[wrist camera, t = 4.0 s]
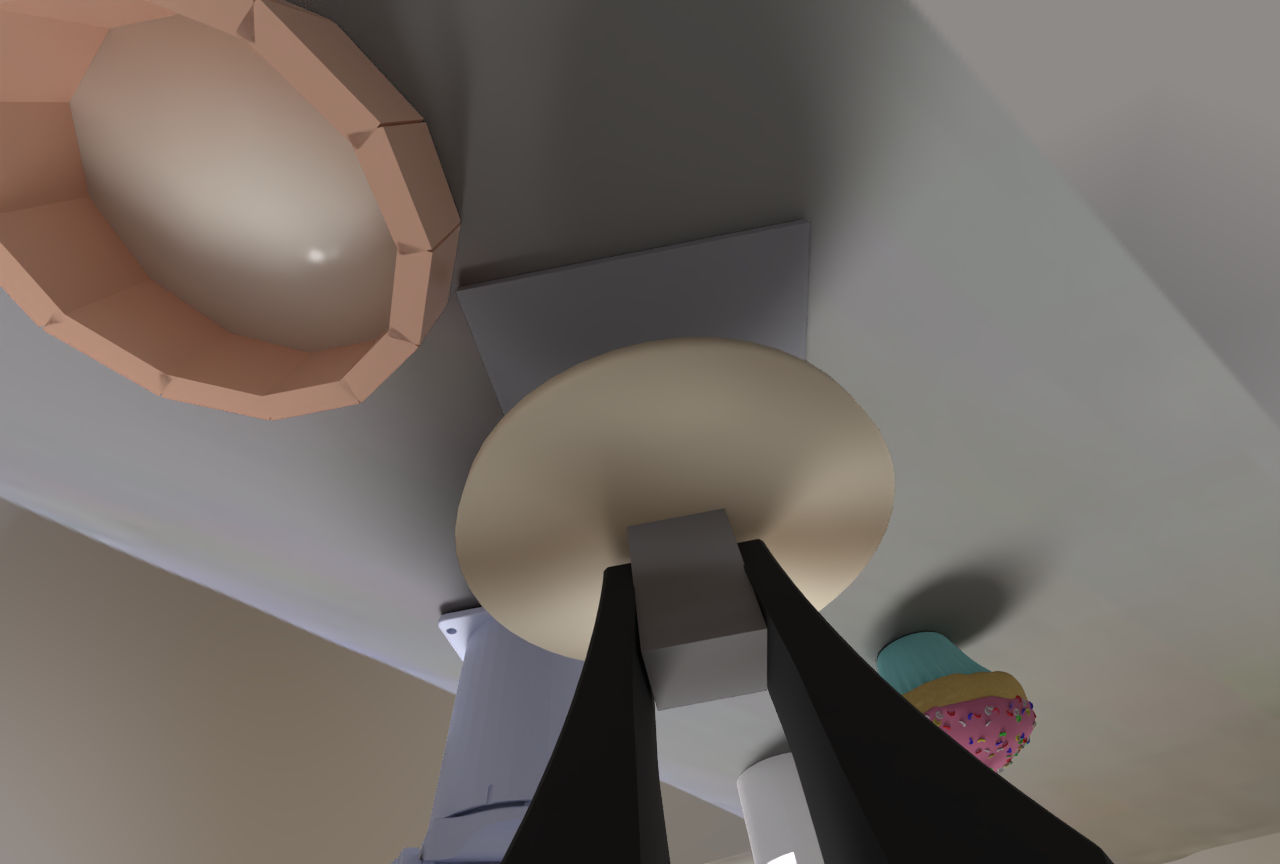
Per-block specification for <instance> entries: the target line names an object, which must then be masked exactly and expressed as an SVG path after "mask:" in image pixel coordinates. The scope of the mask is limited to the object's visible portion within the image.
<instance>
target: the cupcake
mask: <svg viewBox="0 0 1280 864" xmlns="http://www.w3.org/2000/svg"><path fill="white" fill-rule="evenodd" d="M877 667H878V671H879V675H880V676H881V677H882V678H883V679H885V680H886V681H887V682H888V683H889V684H890V685H891V686H892V687H893V688H894V689H895V690H896V691H898V692H899V693H900V694H901V695H902V696H903V697H904V698H905V699H907V700H908V701H909V702H910V703H911V704H912V705H913V706H915V707H916V708H917V709H918V710H919V711H920V712H921V713H923V714H924V715H925V716H926V717H927V718H928V719H930V720H931V721H932V722H933V723H934V724H936V725H937V726H938V727H939V728H941V729H942V730H943V731H944V732H946V733H947V734H948V735H949V736H951V737H952V738H953V739H954V740H956V741H957V742H958V743H959V744H960V745H962V746H963V747H964V748H965V749H967V750H968V751H969V752H970V753H972V754H973V755H974V756H975V757H977V758H978V759H979V760H980V761H981V762H983V763H984V764H985V765H987V766H988V767H989V768H991V769H992V770H993V771H995V772H996V773H1001V772H1003V770H1004V768H1003V767H1007V766H1008V765H1009V764H1012V763H1013V762H1012V761H1011V759H1012V758H1013V757H1014V756H1017V755H1018V753H1019V751H1020V749H1022V748H1024V746H1025V745H1027V744H1028V743H1029V742H1030V735H1031V733H1032V731H1033V728H1034V727H1035V726H1036V722H1035V718H1036V715H1035V713H1034V711H1033V709H1032V708H1033V704H1032V703H1031V702H1029V701H1028V700H1027V697H1026V695H1025V692H1024V690H1023V688H1022V686H1021V685H1020V683H1019V682H1018V681H1017V680H1016V679H1015V678H1014V677H1013V676H1012V675H1010V674H1008V673H1006V672H1001V671H994V672H991V671H989V670H988V669H986V668H984V667H982V666H981V665H979V664H977V663H976V662H974V661H973V660H972V659H970V658H969V657H968V656H967V655H965V654H964V653H963V652H962V651H961V650H960V649H958V648H957V647H956V646H955V645H954V644H953V643H952V642H951V641H949V640H948V639H947V638H946V637H945V636H943V635H942V634H939V633H935V632H920V633H914V634H910V635H907V636H904V637H902V638H900V639H898V640H896V641H894V642H892V643H891V644H889V645H888V646H887V647H885V648H884V649H883V650H882V651H881V653H880V654H879V656H878V658H877ZM1009 762H1010V763H1009Z"/></svg>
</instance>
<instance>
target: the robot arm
mask: <svg viewBox="0 0 1280 864" xmlns="http://www.w3.org/2000/svg"><path fill="white" fill-rule="evenodd" d="M737 545H738V547H739V550H740V553H741V556H742V559H743V562H744V564H745V565H744V566H743V567H744V569H745V572H746V574H747V577H748V579H749V581H750V583H751V585H752V587H753V590H754V593H755V596H756V598H757V601H758V604H759V607H760V610H761V612H762V615H763V618H764V621H765V624H766V627H767V689H768V691H769V694H770V696H771V699H772V701H773V704H774V707H775V709H776V712H777V714H778V717H779V720H780V722H781V725H782V727H783V730H784V732H785V735H786V738H787V741H788V744H789V747H790V749H791V752H792V755H793V758H794V761H795V765H796V768H797V772H798V775H799V778H800V782H801V785H802V788H803V792H804V795H805V798H806V802H807V805H808V809H809V812H810V816H811V819H812V822H813V826H814V829H815V833H816V836H817V840H818V843H819V847H820V850H821V854H822V857H823V861H824V864H1114V863H1113V862H1112V861H1111V860H1110V858H1109V857H1108V856H1107V855H1106V854H1105V853H1104V851H1103V850H1102V849H1101V848H1100V847H1099V846H1097V845H1096V844H1095V843H1093V842H1092V841H1090V840H1089V839H1088V838H1086V837H1085V836H1083V835H1082V834H1080V833H1079V832H1077V831H1076V830H1075V829H1073V828H1072V827H1070V826H1069V825H1067V824H1066V823H1065V822H1063V821H1062V820H1060V819H1059V818H1057V817H1056V816H1055V815H1053V814H1052V813H1050V812H1049V811H1048V810H1046V809H1045V808H1043V807H1042V806H1041V805H1039V804H1038V803H1036V802H1035V801H1034V800H1032V799H1031V798H1030V797H1028V796H1027V795H1025V794H1024V793H1023V792H1021V791H1020V790H1019V789H1017V788H1016V787H1015V786H1013V785H1012V784H1011V783H1009V782H1008V781H1007V780H1005V779H1004V778H1003V777H1001V776H1000V775H999V774H997V773H996V772H995V771H993V770H992V769H991V768H989V767H988V766H987V765H985V764H984V763H983V762H981V761H980V760H979V759H978V758H977V757H975V756H974V755H973V754H972V753H970V752H969V751H968V750H967V749H965V748H964V747H963V746H962V745H960V744H959V743H958V742H957V741H956V740H954V739H953V738H952V737H951V736H949V735H948V734H947V733H946V732H944V731H943V730H942V729H941V728H939V727H938V726H937V725H936V724H934V723H933V722H932V721H931V720H930V719H928V718H927V717H926V716H925V715H924V714H923V713H921V712H920V711H919V710H918V709H917V708H916V707H915V706H913V705H912V704H911V703H910V702H909V701H908V700H907V699H905V698H904V697H903V696H902V695H901V694H900V693H899V692H898V691H896V690H895V689H894V688H893V687H892V686H891V685H890V684H889V683H888V682H887V681H886V680H885V679H883V678H882V677H881V676H880V675H879V674H878V673H877V672H876V671H875V670H874V669H873V668H872V667H871V666H870V665H869V664H868V663H867V662H866V661H865V660H864V659H863V658H862V657H861V656H860V655H859V654H858V653H857V652H856V651H855V650H854V649H853V648H852V647H851V646H850V645H849V644H848V643H847V642H846V641H845V640H844V639H843V638H842V637H841V636H840V635H839V634H838V633H837V632H836V631H835V630H834V628H833V627H832V626H831V625H830V624H829V623H828V622H827V621H826V620H825V619H824V617H823V616H822V615H821V614H820V613H819V612H818V611H817V610H816V608H815V607H814V606H813V605H812V604H811V603H810V602H809V600H808V599H807V598H806V597H805V596H804V595H803V593H802V592H801V591H800V590H799V589H798V587H797V586H796V585H795V584H794V582H793V581H792V580H791V579H790V577H789V576H788V575H787V574H786V572H785V571H784V570H783V568H782V567H781V566H780V564H779V563H778V562H777V560H776V559H775V558H774V556H773V555H772V553H771V552H770V550H769V549H768V548H767V546H766V545H765V543H764V541H762V540H760V539H755V540H749V541H744V542H739V543H737ZM438 626H439V628H440V629H441V631H442V632H443V634H444V635H445V637H446V638H447V639H448V641H449V642H450V644H451V645H452V647H453V648H454V650H455V651H456V652H457V654H458V655H459V657H460V658H461V660H462V661H463V665H462V670H461V675H460V680H459V684H458V689H457V694H456V699H455V704H454V708H453V713H452V718H451V722H450V728H449V732H448V737H447V742H446V747H445V751H444V756H443V760H442V765H441V770H440V775H439V780H438V785H437V789H436V794H435V798H434V804H433V808H432V813H431V817H430V822H429V827H428V831H427V833H426V836H425V838H424V841H423V843H422V846H421V848H420V851H419V848H409V847H408V848H404V849H403V850H402V851H401V853H400V855H399V857H398V858H396V859H395V860H394V861H393V862H392V863H390V864H670V857H669V850H668V843H667V835H666V828H665V820H664V813H663V805H662V797H661V790H660V782H659V770H658V759H657V740H656V721H655V703H654V695H653V692H652V688H651V685H650V681H649V678H648V674H647V671H646V667H645V664H644V660H643V657H642V653H641V646H640V637H639V629H638V620H637V611H636V602H635V587H634V585H633V576H632V567H631V563H627V564H621V565H616V566H611V567H607V568H606V569H605V570H604V573H603V583H602V590H601V596H600V601H599V606H598V611H597V616H596V620H595V625H594V629H593V632H592V636H591V640H590V644H589V647H588V651H587V655H586V659H585V661H582V660H577V659H573V658H569V657H565V656H562V655H559V654H556V653H553V652H550V651H547V650H545V649H543V648H541V647H538V646H536V645H534V644H532V643H529V642H528V641H526V640H524V639H522V638H521V637H519V636H517V635H516V634H514V633H512V632H511V631H509V630H508V629H507V628H505V627H504V626H503V625H502V624H500V623H499V622H498V621H496V620H495V619H494V618H493V617H492V616H491V615H490V614H489V613H488V612H487V611H486V610H485V609H484V608H483V607H479V608H474V609H468V610H463V611H458V612H453V613H447V614H444V615H442V616H441V617H440V619H439V622H438Z"/></svg>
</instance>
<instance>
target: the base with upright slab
mask: <svg viewBox="0 0 1280 864" xmlns="http://www.w3.org/2000/svg"><path fill="white" fill-rule="evenodd" d="M737 788H738V792H739V796H740V801H741V805H742V809H743V814H744V818H745V822H746V827H747V831H748V835H749V840H750V844H751V848H752V853H753V857H754V862H755V864H824V861H823V857H822V854H821V850H820V847H819V843H818V840H817V836H816V833H815V829H814V826H813V822H812V819H811V816H810V812H809V809H808V805H807V802H806V798H805V795H804V792H803V788H802V785H801V782H800V778H799V775H798V772H797V768H796V765H795V761H794V758H793V755H792V752H790V753H784V754H781V755H777V756H773V757H770V758H768V759H765V760H763V761H760V762H758V763H756V764H754V765H753V766H751V767H749V768H748V769H746V770H745V771H744V772H743V773H742V774H741V775H740V776H739V778H738V780H737Z"/></svg>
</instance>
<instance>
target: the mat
mask: <svg viewBox="0 0 1280 864" xmlns="http://www.w3.org/2000/svg"><path fill="white" fill-rule="evenodd" d="M810 226H811V222H810V221H808V220H806V219H801V220H796V221H791V222H786V223H781V224H776V225H771V226H766V227H761V228H756V229H750V230H745V231H740V232H735V233H730V234H725V235H720V236H715V237H710V238H705V239H700V240H694V241H689V242H684V243H679V244H674V245H669V246H664V247H659V248H654V249H649V250H644V251H639V252H633V253H628V254H623V255H618V256H613V257H608V258H603V259H598V260H593V261H588V262H583V263H578V264H572V265H567V266H562V267H557V268H552V269H547V270H542V271H537V272H532V273H527V274H522V275H517V276H511V277H506V278H501V279H496V280H491V281H486V282H481V283H476V284H471V285H466V286H461V287H458V289H457V290H456V294H457V297H458V299H459V302H460V305H461V307H462V310H463V312H464V315H465V317H466V320H467V323H468V325H469V328H470V330H471V333H472V335H473V338H474V340H475V343H476V346H477V348H478V351H479V353H480V356H481V358H482V361H483V364H484V366H485V369H486V371H487V374H488V376H489V379H490V381H491V384H492V387H493V389H494V392H495V394H496V397H497V399H498V402H499V405H500V407H501V410H502V412H503V415H504V416H505V415H506V414H507V413H508V412H509V411H510V410H511V409H512V408H513V407H514V406H515V405H516V404H517V403H518V402H519V401H521V400H522V399H523V398H524V397H525V396H526V395H528V394H529V393H531V392H532V391H533V390H535V389H536V388H538V387H539V386H540V385H542V384H543V383H545V382H546V381H547V380H549V379H550V378H552V377H554V376H556V375H558V374H560V373H562V372H564V371H565V370H567V369H569V368H571V367H573V366H575V365H577V364H578V363H581V362H583V361H586V360H589V359H591V358H594V357H596V356H599V355H602V354H604V353H607V352H609V351H612V350H616V349H620V348H624V347H628V346H632V345H636V344H640V343H644V342H649V341H657V340H665V339H673V338H681V337H718V338H726V339H734V340H742V341H749V342H753V343H757V344H761V345H764V346H768V347H772V348H776V349H779V350H782V351H784V352H786V353H789V354H791V355H793V356H796V357H798V358H801V359H803V360H805V353H806V327H807V302H808V277H809V252H810Z"/></svg>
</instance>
